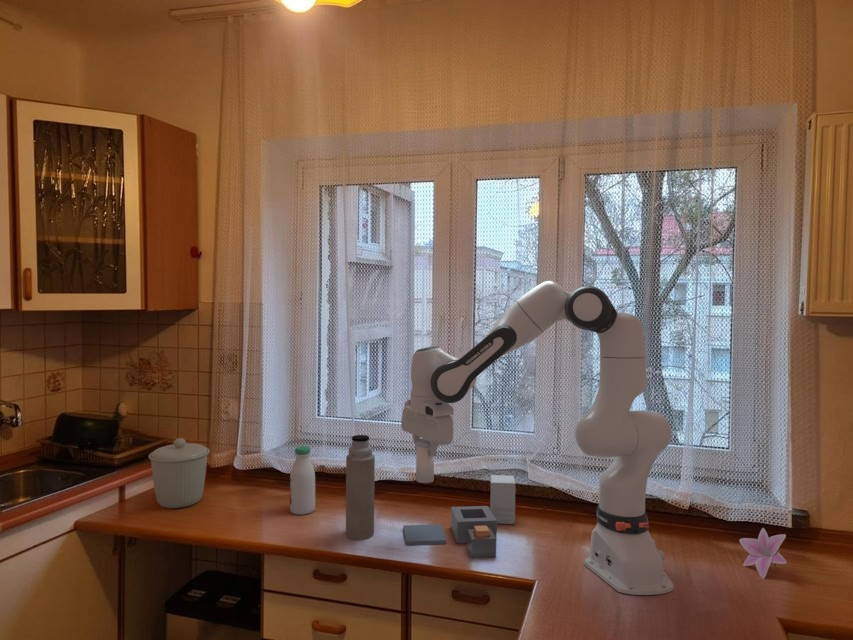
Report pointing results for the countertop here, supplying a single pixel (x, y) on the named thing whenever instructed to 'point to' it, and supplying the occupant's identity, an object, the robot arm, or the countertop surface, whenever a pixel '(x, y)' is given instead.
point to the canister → (179, 473)
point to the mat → (424, 534)
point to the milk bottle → (302, 483)
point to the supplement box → (503, 499)
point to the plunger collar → (481, 545)
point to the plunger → (481, 531)
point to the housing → (471, 520)
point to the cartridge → (424, 462)
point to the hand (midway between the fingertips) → (425, 453)
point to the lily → (763, 551)
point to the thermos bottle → (360, 489)
